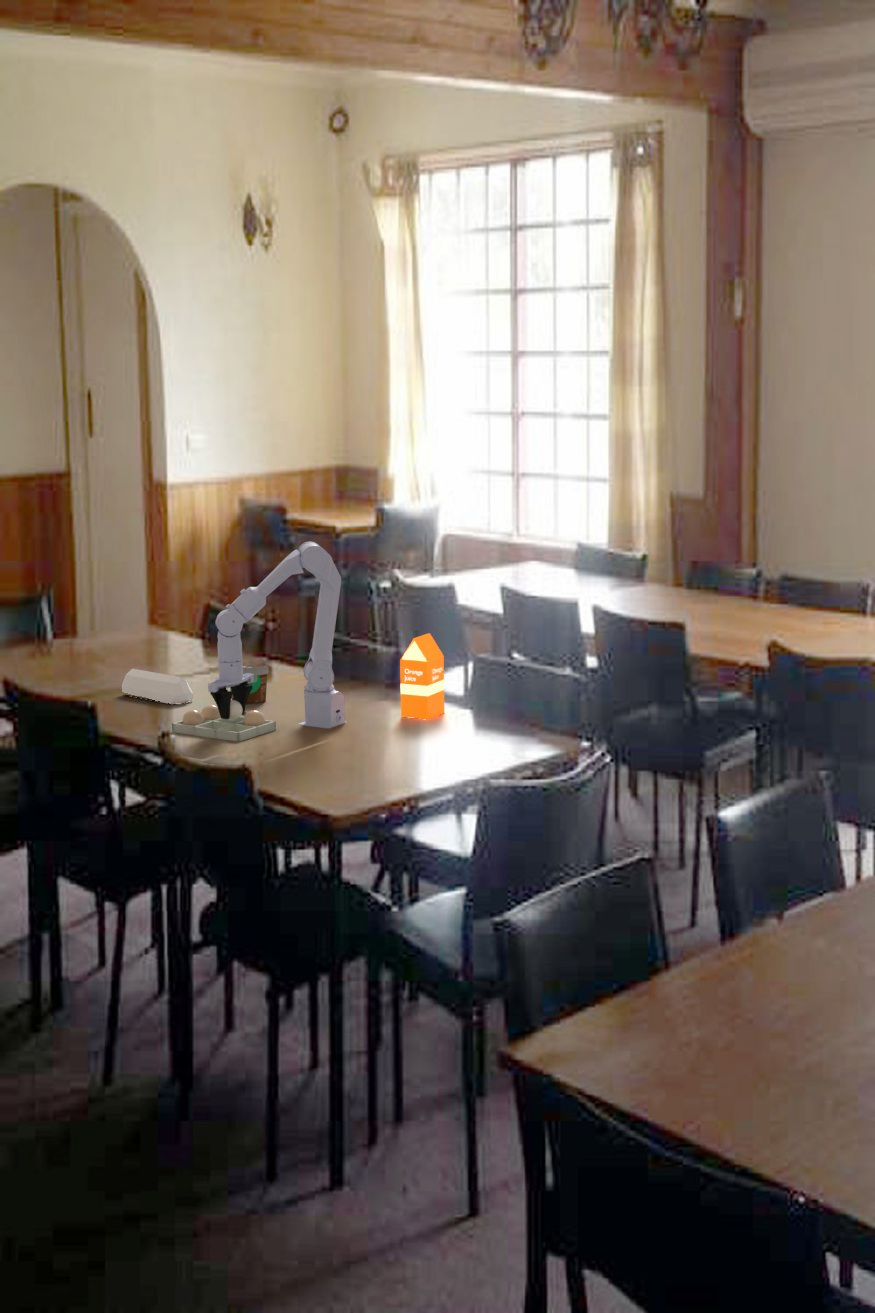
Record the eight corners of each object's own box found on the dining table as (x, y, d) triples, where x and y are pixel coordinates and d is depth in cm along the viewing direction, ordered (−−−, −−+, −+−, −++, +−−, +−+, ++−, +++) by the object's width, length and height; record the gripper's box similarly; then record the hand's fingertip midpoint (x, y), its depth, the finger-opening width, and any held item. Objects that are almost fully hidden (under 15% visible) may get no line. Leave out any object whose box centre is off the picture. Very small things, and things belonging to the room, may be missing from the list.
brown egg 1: (208, 729, 392) (207, 708, 392) (194, 733, 388) (193, 712, 387) (192, 727, 395) (191, 706, 394) (178, 731, 391) (177, 710, 390)
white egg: (247, 719, 394) (246, 699, 393) (233, 723, 390) (232, 703, 389) (231, 717, 397) (230, 697, 396) (217, 721, 393) (216, 701, 392)
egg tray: (276, 732, 391) (275, 721, 391) (238, 744, 380) (238, 733, 379) (210, 722, 402) (209, 712, 402) (172, 734, 391) (171, 723, 390)
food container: (217, 704, 423) (215, 665, 422) (230, 699, 429) (229, 661, 427) (257, 708, 418) (255, 669, 416) (270, 703, 423) (269, 665, 421)
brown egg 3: (269, 730, 391) (268, 709, 390) (256, 734, 387) (255, 713, 386) (253, 727, 394) (252, 707, 393) (239, 731, 389) (238, 711, 388)
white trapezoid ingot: (203, 686, 427) (143, 676, 442) (184, 677, 422) (125, 666, 437) (193, 713, 425) (134, 701, 441) (174, 704, 420) (115, 692, 435)
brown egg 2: (226, 723, 398) (225, 703, 397) (213, 728, 394) (212, 707, 393) (210, 721, 401) (209, 701, 400) (197, 725, 396) (196, 705, 396)
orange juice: (400, 717, 405) (398, 637, 401) (417, 710, 412) (416, 631, 409) (428, 720, 401) (427, 639, 397) (445, 713, 409) (444, 633, 405)
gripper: (236, 654, 399) (239, 708, 401) (197, 664, 387) (199, 720, 389) (259, 656, 395) (261, 711, 397) (220, 666, 383) (222, 723, 386)
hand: (232, 716), depth 393 cm, fingers closed on white egg, 5 cm apart
